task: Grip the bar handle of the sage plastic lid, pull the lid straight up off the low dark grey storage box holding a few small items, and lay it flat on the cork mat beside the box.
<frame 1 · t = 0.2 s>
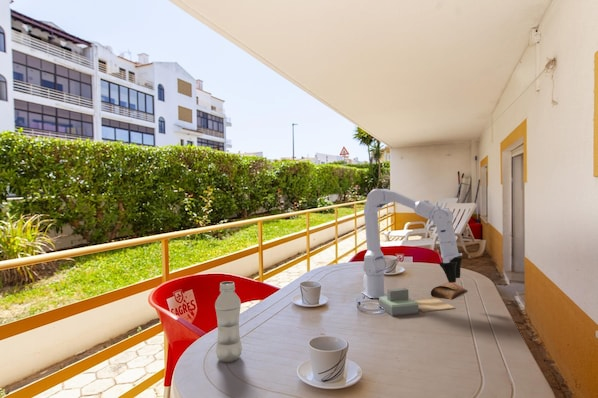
hand: (454, 280, 125), 10 cm above the table, tool pointing down, fingers open, 7 cm apart
sunglasses case: (449, 294, 145), on the table
plastic bottle: (229, 360, 92), on the table
storage box: (398, 310, 126), on the table
lid: (398, 304, 126), point 2 cm above the table, touching storage box
cork mat: (428, 304, 131), on the table
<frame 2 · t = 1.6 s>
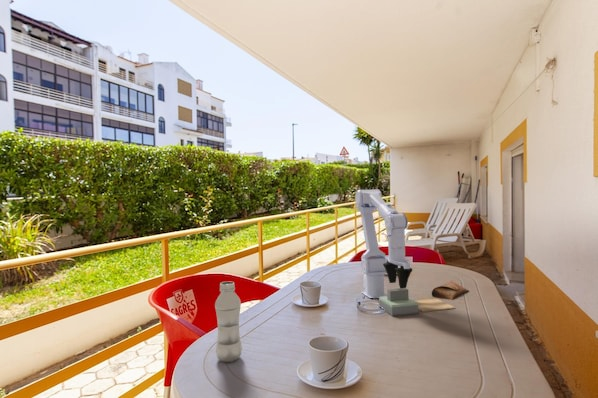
hand: (397, 285, 126), 9 cm above the table, tool pointing down, fingers open, 7 cm apart
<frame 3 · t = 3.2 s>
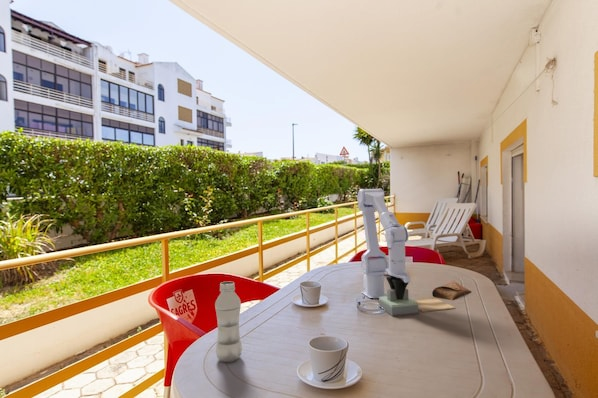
hand: (397, 297, 126), 4 cm above the table, tool pointing down, fingers closed on lid, 2 cm apart
lid: (398, 304, 126), point 2 cm above the table, touching gripper, storage box
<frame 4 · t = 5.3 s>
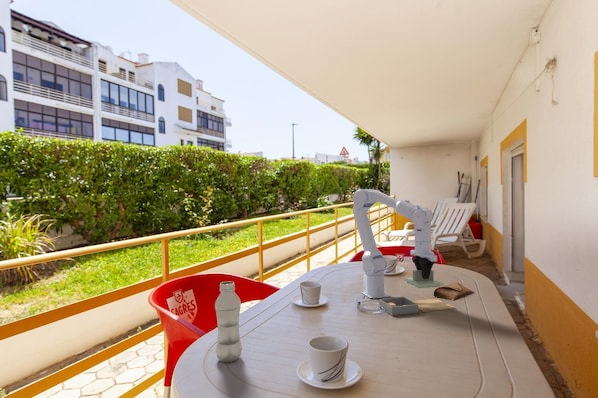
hand: (423, 277, 130), 10 cm above the table, tool pointing down, fingers closed on lid, 2 cm apart
lid: (423, 284, 130), point 8 cm above the table, touching gripper
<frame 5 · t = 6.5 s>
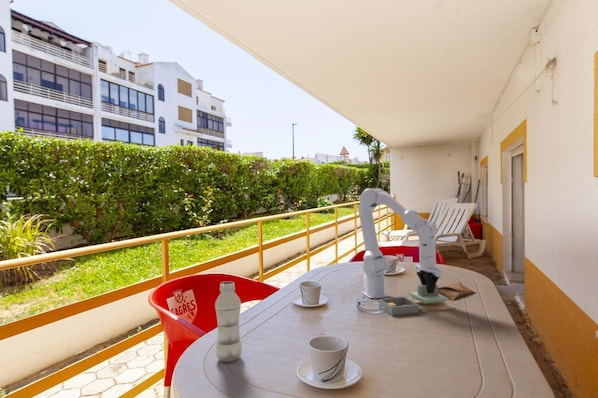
hand: (428, 291, 131), 5 cm above the table, tool pointing down, fingers closed on lid, 2 cm apart
lid: (428, 299, 131), point 2 cm above the table, touching gripper
when the fingers open (4 cm above the table, at t = 7.4 s): lid stays where it is, resting on cork mat.
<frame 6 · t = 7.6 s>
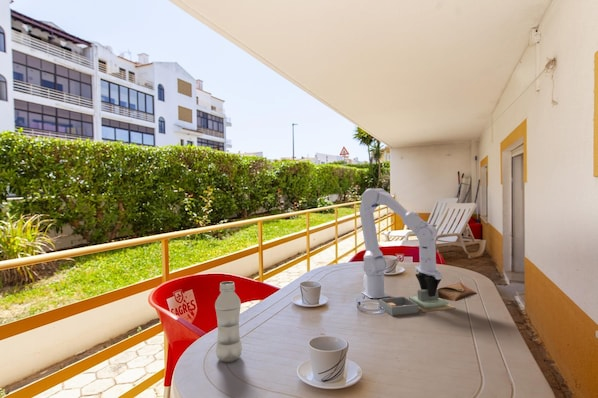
hand: (428, 294, 131), 4 cm above the table, tool pointing down, fingers open, 4 cm apart
lid: (428, 303, 131), resting on cork mat
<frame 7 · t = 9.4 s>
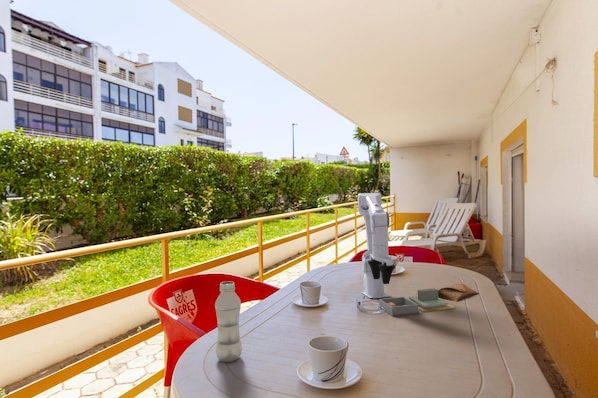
hand: (381, 281, 131), 9 cm above the table, tool pointing down, fingers open, 7 cm apart
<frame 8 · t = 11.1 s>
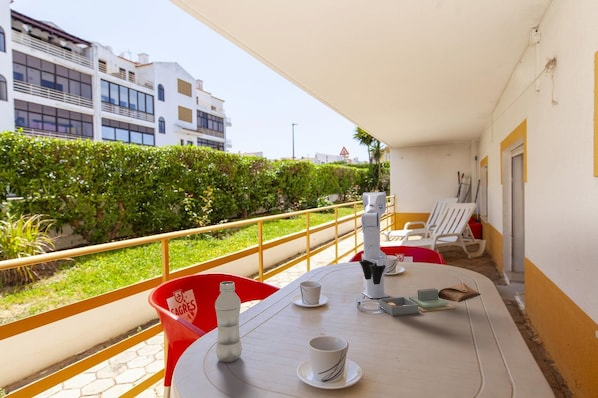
hand: (372, 281, 131), 9 cm above the table, tool pointing down, fingers open, 7 cm apart
at the end: lid 0.2 cm off-centre on the cork mat, point 0.4 cm above the cork mat's base; lid tilted 0°; the gripper is holding nothing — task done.
